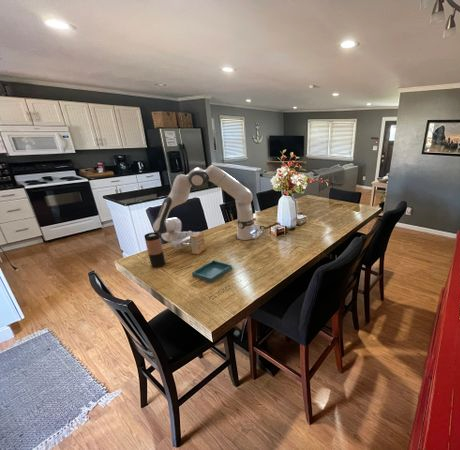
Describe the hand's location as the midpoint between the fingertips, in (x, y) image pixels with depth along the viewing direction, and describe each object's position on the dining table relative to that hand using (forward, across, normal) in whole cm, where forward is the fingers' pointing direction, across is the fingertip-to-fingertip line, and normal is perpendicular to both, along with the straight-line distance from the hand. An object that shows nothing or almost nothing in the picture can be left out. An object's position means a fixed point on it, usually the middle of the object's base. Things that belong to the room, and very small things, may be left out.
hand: (195, 242), depth 161 cm
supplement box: (+3, 0, +7) cm, 7 cm away
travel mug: (-5, -24, +6) cm, 25 cm away
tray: (+31, -16, +6) cm, 35 cm away
